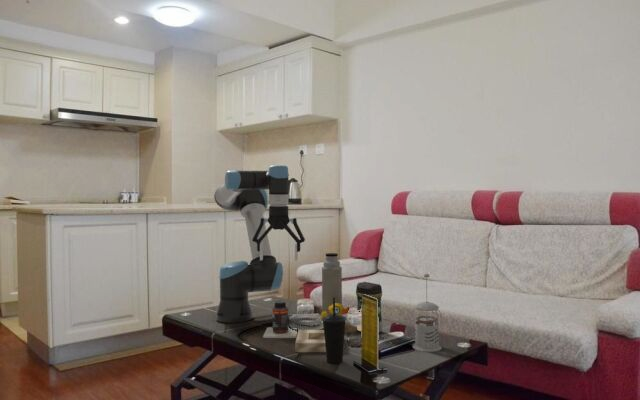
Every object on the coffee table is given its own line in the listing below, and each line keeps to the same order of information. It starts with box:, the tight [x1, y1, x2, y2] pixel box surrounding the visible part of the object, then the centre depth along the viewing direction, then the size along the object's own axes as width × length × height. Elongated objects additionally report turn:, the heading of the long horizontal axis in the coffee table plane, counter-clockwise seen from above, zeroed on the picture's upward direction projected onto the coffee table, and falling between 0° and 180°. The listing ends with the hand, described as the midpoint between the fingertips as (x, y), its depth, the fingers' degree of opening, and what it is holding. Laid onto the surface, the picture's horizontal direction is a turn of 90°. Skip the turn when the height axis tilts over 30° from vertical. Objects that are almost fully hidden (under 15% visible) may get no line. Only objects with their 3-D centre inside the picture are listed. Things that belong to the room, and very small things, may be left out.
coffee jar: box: [355, 281, 383, 334], centre depth 191 cm, size 10×8×19 cm
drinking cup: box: [322, 298, 347, 365], centre depth 159 cm, size 8×8×20 cm
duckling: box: [320, 303, 350, 322], centre depth 196 cm, size 11×5×10 cm, turn 73°
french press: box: [411, 273, 443, 353], centre depth 173 cm, size 10×12×25 cm
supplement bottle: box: [271, 300, 289, 333], centre depth 190 cm, size 6×6×11 cm
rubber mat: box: [262, 326, 298, 339], centre depth 190 cm, size 12×12×1 cm
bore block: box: [294, 329, 345, 353], centre depth 176 cm, size 16×16×3 cm
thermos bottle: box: [321, 252, 343, 315], centre depth 205 cm, size 8×8×28 cm
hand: (278, 260), depth 198 cm, fingers open, 13 cm apart
